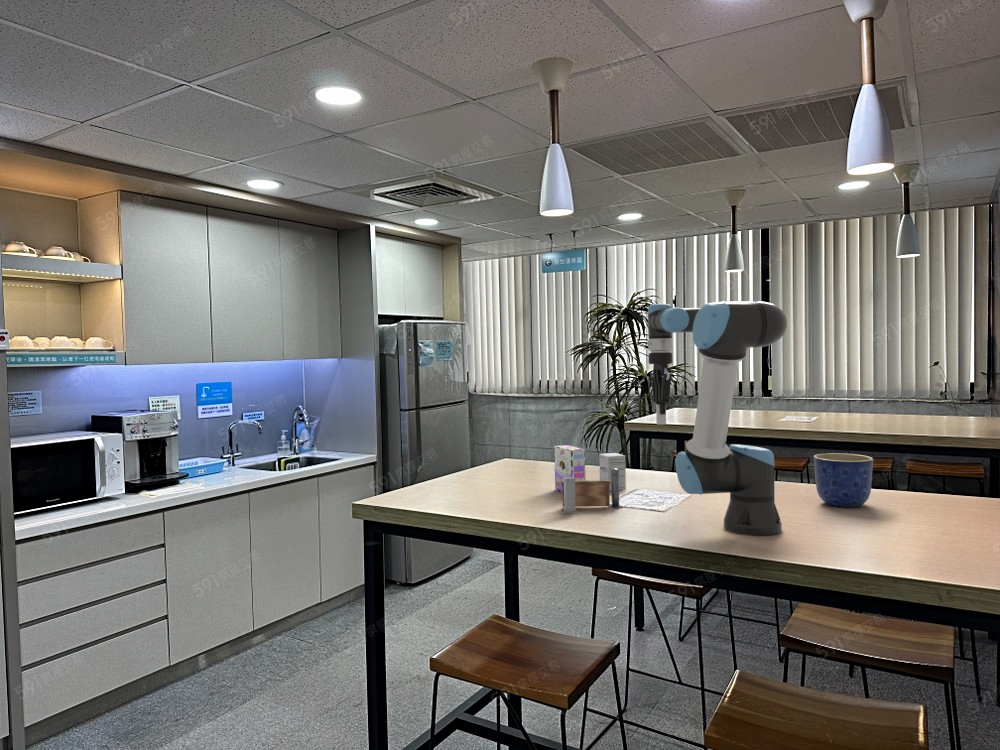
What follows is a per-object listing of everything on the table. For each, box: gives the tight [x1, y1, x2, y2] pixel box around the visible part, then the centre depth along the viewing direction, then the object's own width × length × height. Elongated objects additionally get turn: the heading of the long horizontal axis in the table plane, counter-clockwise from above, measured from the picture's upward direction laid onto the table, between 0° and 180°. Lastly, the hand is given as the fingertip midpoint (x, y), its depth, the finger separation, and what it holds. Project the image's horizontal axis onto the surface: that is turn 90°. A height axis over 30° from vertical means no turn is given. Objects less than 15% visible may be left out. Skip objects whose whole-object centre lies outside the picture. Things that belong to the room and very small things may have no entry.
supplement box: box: [599, 452, 627, 492], centre depth 250 cm, size 7×7×13 cm
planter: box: [813, 452, 874, 508], centre depth 216 cm, size 17×17×15 cm
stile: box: [561, 477, 579, 515], centre depth 213 cm, size 4×4×11 cm
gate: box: [562, 479, 611, 508], centre depth 219 cm, size 15×2×8 cm, turn 89°
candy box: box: [553, 444, 587, 493], centre depth 245 cm, size 14×6×16 cm, turn 22°
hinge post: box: [608, 468, 624, 510], centre depth 219 cm, size 4×4×13 cm
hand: (661, 424), depth 221 cm, fingers closed
